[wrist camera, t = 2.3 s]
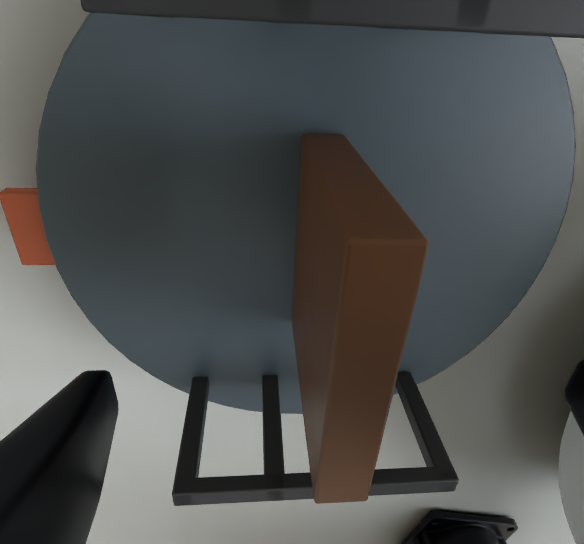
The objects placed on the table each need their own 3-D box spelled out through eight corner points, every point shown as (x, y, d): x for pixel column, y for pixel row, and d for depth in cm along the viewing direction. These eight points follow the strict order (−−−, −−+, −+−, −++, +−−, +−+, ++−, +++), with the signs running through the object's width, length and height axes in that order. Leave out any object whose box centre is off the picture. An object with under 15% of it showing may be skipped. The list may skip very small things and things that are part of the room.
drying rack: (652, -67, 10) (1303, -213, 4) (476, 390, 18) (591, 582, 12) (-96, -124, 9) (-1036, -516, 2) (76, 402, 17) (-31, 628, 11)
